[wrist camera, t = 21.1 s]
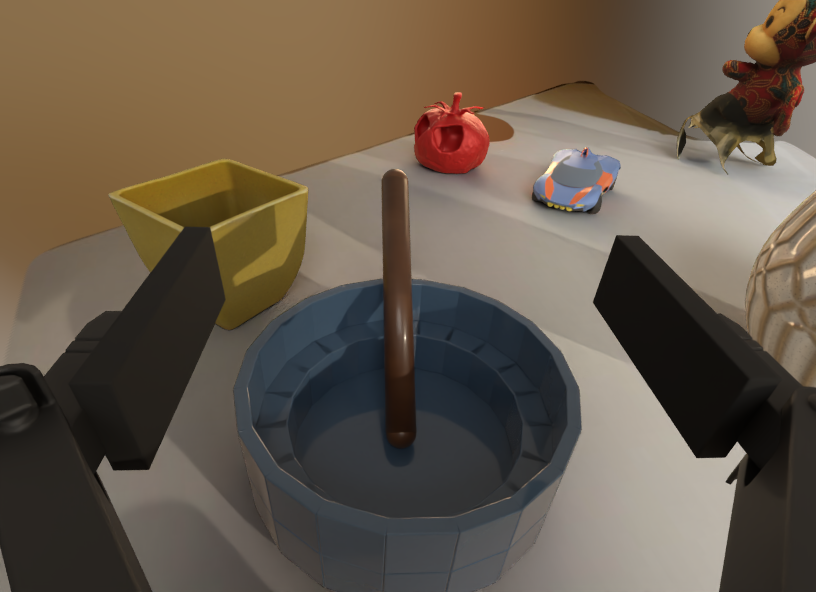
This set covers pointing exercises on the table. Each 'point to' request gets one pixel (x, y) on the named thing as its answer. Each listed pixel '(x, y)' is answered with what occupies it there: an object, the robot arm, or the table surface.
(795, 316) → the vase
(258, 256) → the flower pot
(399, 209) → the stick
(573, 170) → the toy car
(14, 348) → the table surface
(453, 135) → the pomegranate
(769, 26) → the stuffed monkey
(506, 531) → the bowl
